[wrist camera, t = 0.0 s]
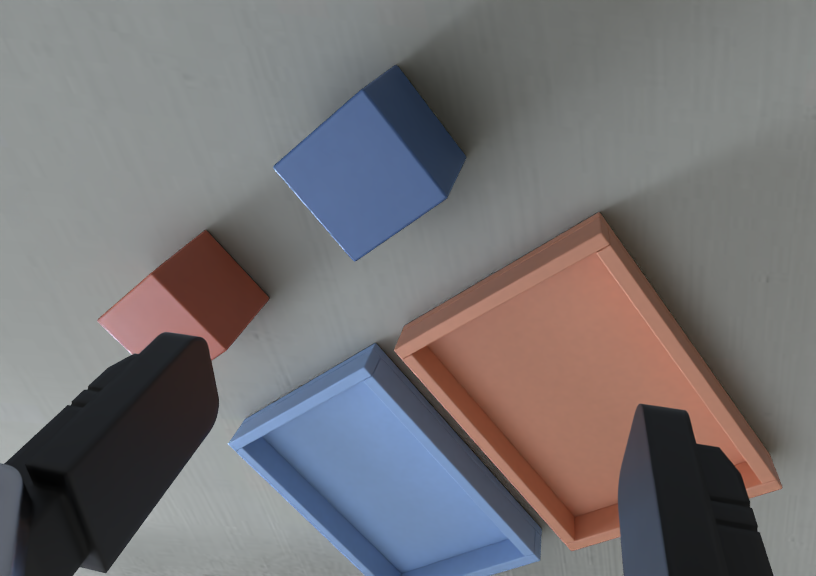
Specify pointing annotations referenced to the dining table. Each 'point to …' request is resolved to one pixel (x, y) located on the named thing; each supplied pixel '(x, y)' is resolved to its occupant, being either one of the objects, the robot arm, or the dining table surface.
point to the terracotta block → (188, 300)
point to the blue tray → (386, 476)
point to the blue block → (374, 164)
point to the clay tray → (572, 377)
